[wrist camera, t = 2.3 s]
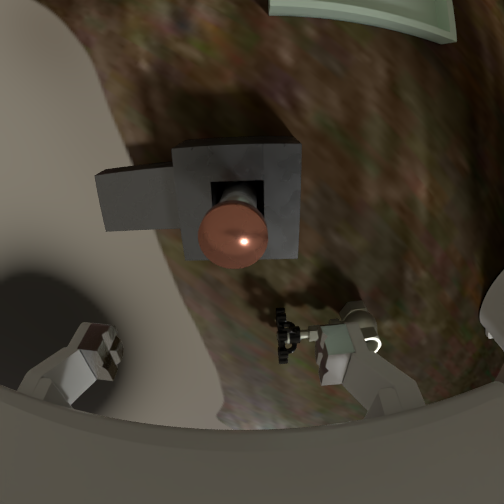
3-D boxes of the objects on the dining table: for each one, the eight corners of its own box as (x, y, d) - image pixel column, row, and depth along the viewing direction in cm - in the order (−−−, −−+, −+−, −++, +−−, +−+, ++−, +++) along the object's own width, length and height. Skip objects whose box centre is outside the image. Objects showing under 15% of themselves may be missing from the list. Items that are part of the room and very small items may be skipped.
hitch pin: (263, 165, 27) (267, 204, 17) (264, 208, 29) (268, 268, 19) (216, 166, 27) (194, 206, 17) (219, 209, 29) (201, 269, 20)
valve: (372, 288, 34) (275, 296, 34) (390, 324, 28) (278, 336, 29) (364, 327, 37) (276, 335, 38) (378, 363, 31) (279, 375, 32)
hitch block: (293, 136, 26) (301, 143, 21) (291, 233, 30) (297, 258, 26) (102, 151, 26) (77, 162, 22) (118, 238, 31) (100, 261, 26)
